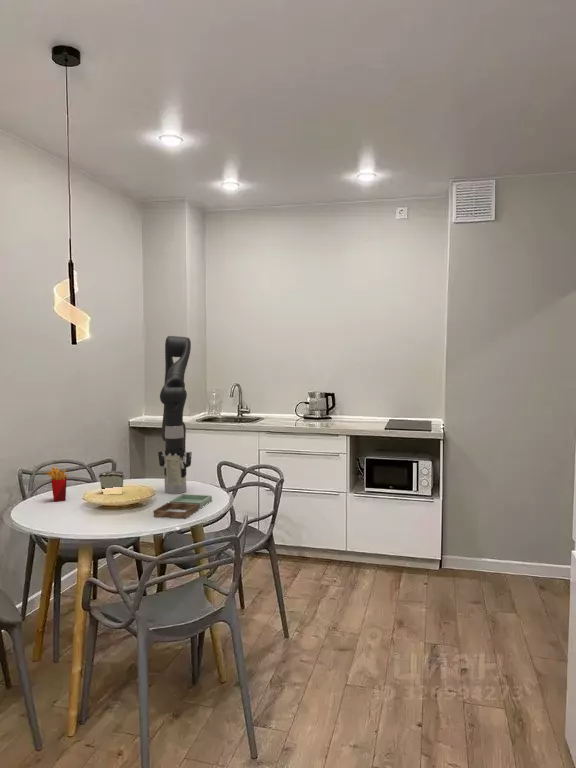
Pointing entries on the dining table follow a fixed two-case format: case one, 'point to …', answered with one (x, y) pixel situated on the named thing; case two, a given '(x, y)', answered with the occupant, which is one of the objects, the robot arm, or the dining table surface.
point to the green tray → (193, 499)
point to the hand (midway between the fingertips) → (175, 476)
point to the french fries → (58, 484)
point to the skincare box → (174, 470)
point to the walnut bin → (173, 514)
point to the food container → (111, 479)
